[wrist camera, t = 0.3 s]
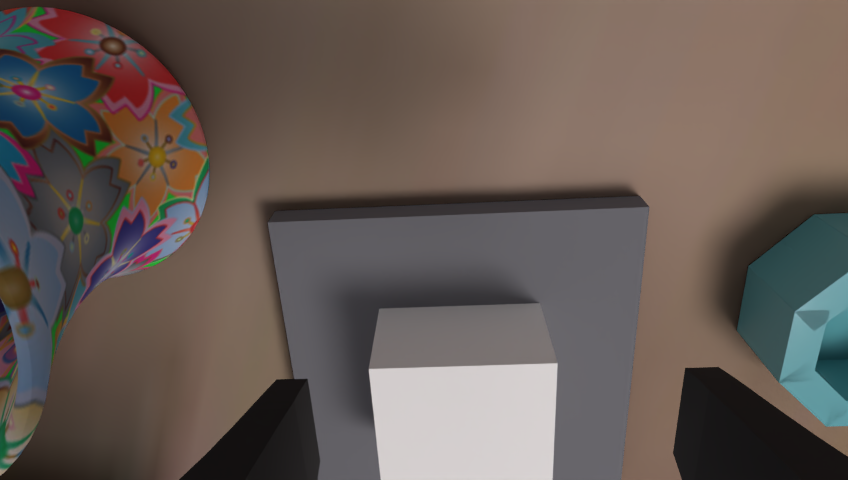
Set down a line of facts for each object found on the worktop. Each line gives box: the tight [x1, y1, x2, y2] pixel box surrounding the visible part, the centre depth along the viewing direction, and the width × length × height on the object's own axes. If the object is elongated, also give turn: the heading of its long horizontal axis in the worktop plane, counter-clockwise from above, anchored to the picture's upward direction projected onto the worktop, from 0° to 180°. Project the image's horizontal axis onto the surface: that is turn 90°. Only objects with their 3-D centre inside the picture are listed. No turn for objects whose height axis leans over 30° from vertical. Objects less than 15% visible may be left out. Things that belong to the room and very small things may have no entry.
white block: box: [369, 303, 558, 480], centre depth 20 cm, size 5×5×3 cm
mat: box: [268, 196, 649, 480], centre depth 22 cm, size 12×12×1 cm
